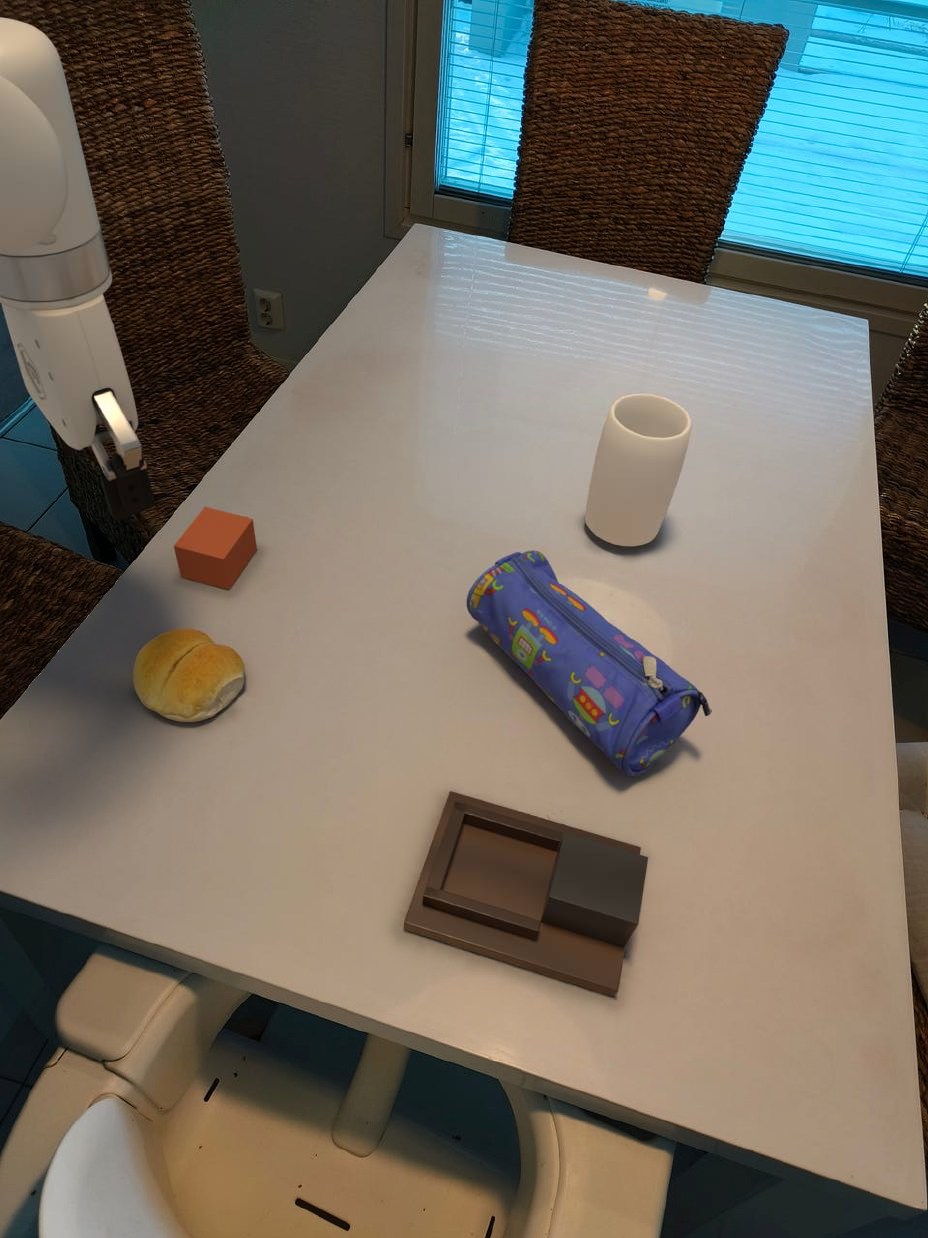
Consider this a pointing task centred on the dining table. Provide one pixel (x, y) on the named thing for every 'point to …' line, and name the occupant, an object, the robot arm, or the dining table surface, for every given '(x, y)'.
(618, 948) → the brown wooden tray
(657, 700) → the pencil case
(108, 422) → the robot arm
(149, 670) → the bread roll
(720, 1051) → the dining table surface
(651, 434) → the cup
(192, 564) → the orange block
